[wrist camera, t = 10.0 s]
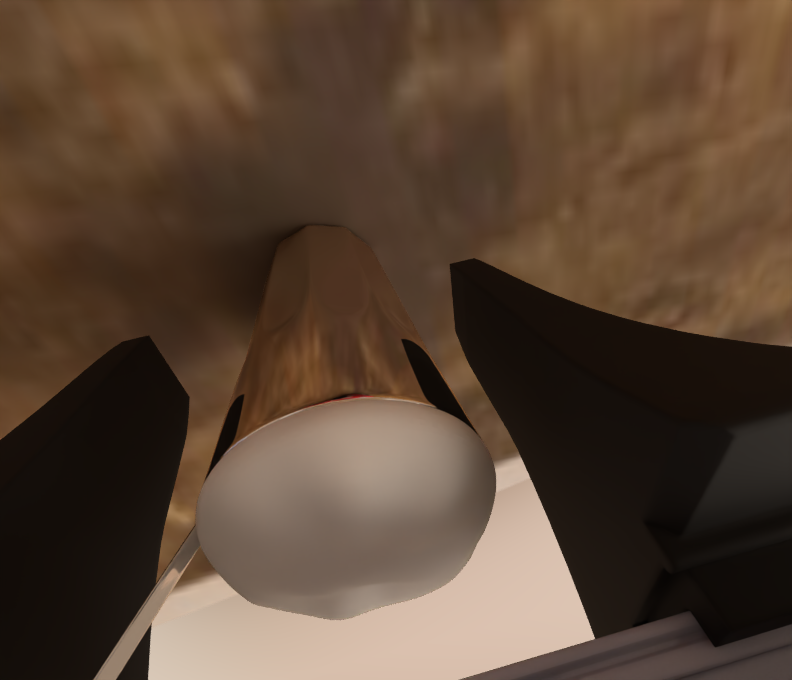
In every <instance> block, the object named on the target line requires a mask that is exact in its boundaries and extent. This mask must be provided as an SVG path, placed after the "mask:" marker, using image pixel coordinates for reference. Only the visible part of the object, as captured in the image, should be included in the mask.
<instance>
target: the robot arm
mask: <svg viewBox="0 0 792 680" xmlns="http://www.w3.org/2000/svg"><path fill="white" fill-rule="evenodd" d="M450 272H451V284H452V296H453V308H454V320H455V331H456V334H457V336H458V339H459V341H460V344H461V346H462V349H463V351H464V354H465V356H466V358H467V361H468V363H469V365H470V367H471V368H472V370H473V372H474V374H475V375H476V377H477V379H478V381H479V382H480V384H481V386H482V387H483V389H484V391H485V393H486V394H487V396H488V398H489V399H490V401H491V403H492V404H493V406H494V408H495V410H496V411H497V413H498V415H499V416H500V418H501V420H502V421H503V423H504V425H505V427H506V428H507V430H508V432H509V434H510V435H511V437H512V439H513V441H514V443H515V445H516V447H517V449H518V451H519V453H520V456H521V458H522V460H523V462H524V465H525V467H526V469H527V471H528V473H529V476H530V478H531V480H532V482H533V484H534V487H535V489H536V492H537V494H538V496H539V498H540V501H541V503H542V506H543V508H544V510H545V512H546V515H547V517H548V519H549V521H550V524H551V527H552V529H553V532H554V534H555V537H556V539H557V541H558V544H559V546H560V549H561V551H562V554H563V556H564V558H565V561H566V563H567V566H568V568H569V571H570V574H571V576H572V579H573V581H574V584H575V586H576V589H577V592H578V594H579V597H580V599H581V602H582V605H583V607H584V610H585V613H586V615H587V618H588V620H589V623H590V626H591V629H592V631H593V634H594V637H595V639H594V640H591V641H587V642H584V643H581V644H577V645H574V646H570V647H567V648H564V649H561V650H557V651H554V652H550V653H547V654H544V655H540V656H537V657H534V658H530V659H527V660H524V661H520V662H517V663H514V664H510V665H507V666H504V667H500V668H497V669H494V670H490V671H487V672H484V673H480V674H477V675H474V676H470V677H467V678H464V679H460V680H792V347H788V346H778V345H767V344H758V343H750V342H744V341H737V340H730V339H723V338H717V337H710V336H704V335H699V334H693V333H687V332H682V331H677V330H672V329H668V328H663V327H659V326H654V325H650V324H645V323H641V322H637V321H633V320H629V319H625V318H622V317H618V316H615V315H612V314H608V313H605V312H602V311H598V310H595V309H592V308H589V307H586V306H583V305H580V304H577V303H575V302H572V301H570V300H567V299H564V298H562V297H559V296H557V295H554V294H552V293H549V292H547V291H544V290H542V289H540V288H538V287H535V286H533V285H531V284H529V283H526V282H524V281H522V280H520V279H518V278H516V277H514V276H512V275H509V274H507V273H505V272H503V271H501V270H499V269H497V268H495V267H493V266H491V265H489V264H487V263H485V262H482V261H480V260H477V259H475V258H473V259H469V260H465V261H461V262H456V263H452V264H450ZM189 398H190V397H189V396H188V394H187V393H186V391H185V390H184V388H183V386H182V385H181V383H180V382H179V380H178V379H177V377H176V376H175V374H174V373H173V371H172V370H171V368H170V367H169V365H168V364H167V362H166V361H165V359H164V358H163V356H162V354H161V353H160V351H159V350H158V348H157V347H156V345H155V344H154V342H153V341H152V339H151V338H150V336H145V337H140V338H136V339H132V340H128V341H124V342H121V343H120V344H118V345H117V346H115V347H114V348H112V349H111V350H110V351H108V352H107V353H106V354H104V355H103V356H102V357H101V358H99V359H98V360H97V361H96V362H94V363H93V364H92V365H91V366H90V367H88V368H87V369H86V370H85V371H84V372H82V373H81V374H80V375H79V376H78V377H77V378H75V379H74V380H73V381H72V382H71V383H70V384H68V385H67V386H66V387H65V388H64V389H62V390H61V391H60V392H59V393H58V394H57V395H55V396H54V397H53V398H52V399H51V400H49V401H48V402H47V403H46V404H45V405H44V406H42V407H41V408H40V409H39V410H37V411H36V412H35V413H34V414H32V415H31V416H30V417H29V418H27V419H26V420H25V421H24V422H22V423H21V424H20V425H19V426H17V427H16V428H15V429H14V430H12V431H11V432H10V433H9V434H7V435H6V436H5V437H4V438H2V439H1V440H0V680H92V679H93V678H94V676H95V675H96V673H97V672H98V670H99V669H100V667H101V666H102V664H103V663H104V661H105V660H106V658H107V657H108V655H109V654H110V652H111V651H112V649H113V648H114V646H115V645H116V643H117V642H118V640H119V639H120V637H121V636H122V634H123V633H124V631H125V630H126V628H127V627H128V625H129V624H130V622H131V621H132V619H133V618H134V616H135V615H136V613H137V612H138V610H139V609H140V607H141V605H142V604H143V602H144V601H145V599H146V598H147V596H148V595H149V593H150V592H151V590H152V589H153V587H154V586H155V584H156V577H157V569H158V562H159V554H160V547H161V540H162V535H163V530H164V525H165V521H166V517H167V513H168V509H169V505H170V501H171V497H172V493H173V489H174V485H175V481H176V477H177V473H178V469H179V465H180V461H181V457H182V452H183V448H184V444H185V439H186V435H187V426H188V415H189ZM151 625H152V623H151V624H150V626H149V628H148V629H147V631H146V632H145V634H144V636H143V637H142V639H141V640H140V642H139V644H138V645H137V647H136V648H135V650H134V652H133V653H132V655H131V656H130V658H129V660H128V661H127V663H126V664H125V666H124V668H123V669H122V671H121V672H120V674H119V676H118V677H117V679H116V680H148V668H149V653H150V635H151Z"/></svg>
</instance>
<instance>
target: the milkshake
mask: <svg viewBox="0 0 792 680" xmlns="http://www.w3.org/2000/svg"><path fill="white" fill-rule="evenodd" d="M495 492H496V473H495V468H494V464H493V461H492V458H491V456H490V453H489V451H488V449H487V447H486V446H485V444H484V442H483V441H482V439H481V437H480V436H479V434H478V432H477V431H476V429H475V427H474V426H473V424H472V422H471V421H470V419H469V417H468V416H467V414H466V412H465V411H464V409H463V408H462V406H461V404H460V403H459V401H458V399H457V398H456V396H455V394H454V393H453V391H452V389H451V388H450V386H449V385H448V383H447V381H446V380H445V378H444V376H443V375H442V373H441V371H440V370H439V368H438V366H437V365H436V363H435V361H434V360H433V358H432V356H431V355H430V353H429V351H428V350H427V348H426V346H425V344H424V343H423V341H422V339H421V337H420V335H419V334H418V332H417V330H416V328H415V326H414V324H413V322H412V321H411V319H410V317H409V315H408V313H407V311H406V310H405V308H404V306H403V304H402V302H401V301H400V299H399V297H398V295H397V293H396V291H395V290H394V288H393V286H392V284H391V282H390V281H389V279H388V277H387V275H386V273H385V271H384V270H383V268H382V266H381V264H380V262H379V261H378V259H377V257H376V255H375V253H374V252H373V250H372V248H370V247H369V246H368V245H367V244H365V243H364V242H363V241H362V240H360V239H359V238H358V237H357V236H355V235H354V234H353V233H352V232H350V231H349V230H348V229H347V228H345V227H336V226H320V225H307V226H306V227H304V228H303V229H301V230H299V231H298V232H296V233H295V234H293V235H291V236H290V237H288V238H287V239H285V240H283V241H282V242H280V243H279V244H278V246H277V249H276V252H275V255H274V258H273V261H272V264H271V267H270V270H269V273H268V276H267V279H266V283H265V287H264V290H263V294H262V298H261V302H260V306H259V310H258V313H257V317H256V321H255V325H254V329H253V332H252V336H251V340H250V344H249V348H248V351H247V355H246V359H245V362H244V364H243V367H242V369H241V372H240V374H239V377H238V379H237V382H236V385H235V388H234V391H233V394H232V397H231V400H230V403H229V406H228V409H227V412H226V415H225V418H224V421H223V425H222V428H221V431H220V434H219V437H218V440H217V443H216V446H215V449H214V452H213V456H212V459H211V462H210V465H209V468H208V471H207V474H206V477H205V481H204V484H203V487H202V489H201V492H200V494H199V498H198V501H197V508H196V524H195V526H194V527H193V529H192V530H191V532H190V533H189V535H188V536H187V538H186V539H185V541H184V542H183V544H182V545H181V547H180V548H179V550H178V551H177V553H176V554H175V556H174V557H173V559H172V560H171V562H170V563H169V565H168V566H167V568H166V569H165V571H164V572H163V574H162V575H161V577H160V578H159V580H158V581H157V583H156V584H155V586H154V587H153V589H152V590H151V592H150V593H149V595H148V596H147V598H146V599H145V601H144V602H143V604H142V605H141V607H140V609H139V610H138V612H137V613H136V615H135V616H134V618H133V619H132V621H131V622H130V624H129V625H128V627H127V628H126V630H125V631H124V633H123V634H122V636H121V637H120V639H119V640H118V642H117V643H116V645H115V646H114V648H113V649H112V651H111V652H110V654H109V655H108V657H107V658H106V660H105V661H104V663H103V664H102V666H101V667H100V669H99V670H98V672H97V673H96V675H95V676H94V678H93V679H92V680H116V679H117V677H118V676H119V674H120V672H121V671H122V669H123V668H124V666H125V664H126V663H127V661H128V660H129V658H130V656H131V655H132V653H133V652H134V650H135V648H136V647H137V645H138V644H139V642H140V640H141V639H142V637H143V636H144V634H145V632H146V631H147V629H148V628H149V626H150V624H151V623H152V621H153V620H154V618H155V617H156V615H157V613H158V612H159V610H160V609H161V607H162V605H163V604H164V602H165V601H166V599H167V597H168V596H169V594H170V593H171V591H172V589H173V588H174V586H175V585H176V583H177V581H178V580H179V578H180V577H181V575H182V573H183V572H184V570H185V569H186V567H187V566H188V564H189V562H190V561H191V559H192V558H193V556H194V554H195V553H196V551H197V550H198V548H199V546H201V548H202V550H203V552H204V554H205V555H206V557H207V559H208V560H209V562H210V563H211V564H212V566H213V567H214V568H215V570H216V571H217V572H218V573H219V575H220V576H221V577H222V578H223V579H224V580H225V581H226V582H227V583H228V584H229V585H230V586H231V587H232V588H233V589H234V590H235V591H236V592H237V593H239V594H240V595H241V596H242V597H244V598H245V599H246V600H248V601H249V602H251V603H253V604H255V605H258V606H263V607H268V608H273V609H277V610H282V611H287V612H292V613H297V614H303V615H308V616H314V617H318V618H324V619H330V620H344V619H348V618H352V617H355V616H358V615H360V614H363V613H366V612H368V611H371V610H374V609H377V608H380V607H384V606H388V605H392V604H396V603H400V602H404V601H408V600H412V599H415V598H418V597H421V596H423V595H426V594H428V593H430V592H433V591H435V590H436V589H439V588H441V587H442V586H444V585H446V584H447V583H449V582H450V581H451V580H453V579H454V578H455V577H456V576H457V574H458V573H459V572H460V571H461V570H462V569H463V567H464V566H465V565H466V564H467V562H468V561H469V559H470V558H471V556H472V554H473V551H474V549H475V547H476V545H477V543H478V541H479V540H480V538H481V536H482V535H483V533H484V531H485V528H486V526H487V523H488V521H489V518H490V515H491V512H492V507H493V503H494V499H495Z"/></svg>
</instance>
